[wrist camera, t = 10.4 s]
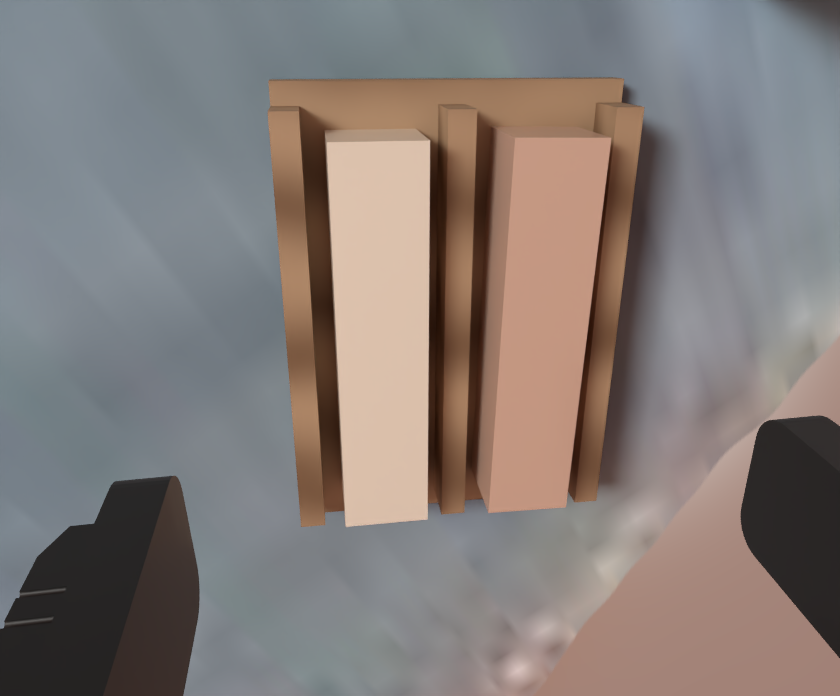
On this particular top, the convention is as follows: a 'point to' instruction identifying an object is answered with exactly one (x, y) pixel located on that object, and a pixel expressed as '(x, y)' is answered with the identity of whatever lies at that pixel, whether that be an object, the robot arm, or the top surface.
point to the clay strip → (535, 309)
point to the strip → (381, 318)
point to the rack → (436, 256)
